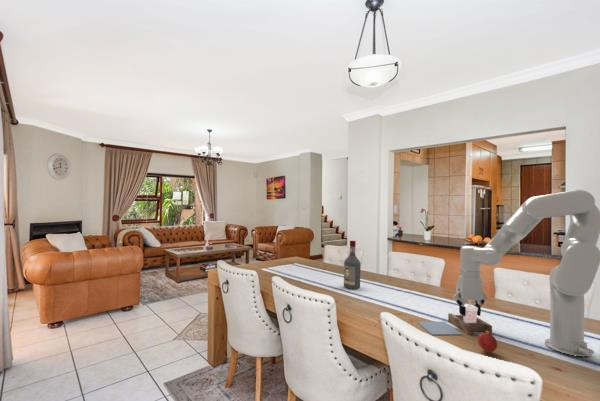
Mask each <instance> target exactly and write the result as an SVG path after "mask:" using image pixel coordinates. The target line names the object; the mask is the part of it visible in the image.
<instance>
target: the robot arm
mask: <svg viewBox="0 0 600 401" xmlns="http://www.w3.org/2000/svg"><path fill="white" fill-rule="evenodd" d="M562 216H569V219H570V220H569V225H568V229H567V231H566V234H565V236H564V239H563V242H562V244H561V247H560V254H561V256H562V258H561V260H560V263H559V264H558V265H556V266H555V267H553V268H552V269H551V270H550V273H549V289H550V292H549V294H550V297H549V298H550V300H549V302H550V303H549V304H550V306H549V308H550V309H549V312H550V313H549V315H550V317H549V318H550V319H549V322H550V323H549V338H545V340H544V344H546V345H547V346H546V345H545V346H546V347H547V348H549V347H550V348H549V349H551V348H552V349H551V350H553V349H554V350H553V351H555V350H557V351H560V352H563V353H566V354H570V355H569V356H571V355H576V356H588V358H589V357H590V358H591V357H592V355H594V354H595V351H594V350H593V349H591V348H589V347H588V342H586V341H585V294H587V293H588V292H589V291H590V289H591V287H592V285H593V283H594V280H595V278H596V275H597V272H598V269H599V267H600V249H599V247H598V246H597V244H598V240H599V239H600V238H599V236H600V210H599V207H597V205H596V200H595V197H594V195H593V194H592V193H590V192H589V191H586V190H583V189H573V190H567V191H563V192H557V193H550V194H545V195H544V194H543V195H536V196H535V195H534V196H531V197H529V198H528V199H527V198H526V200H525V201H523V203H522V204H520V206H519V207H518V208H517V209H516V211H515V212H514V213H513V214H512V215H511V216H510V217H509V218H508V219H507V220H506V222H504V224H503V225H502V226H501V227H500V229H499V230H498V231H497V233H496V234H495V235H494V236H493V237H492V238H491V239H490V241H488V242H487V243H486V244H485V246H484V247H479V246H475V245H462V246H460V251H459V252H460V253H459V255H460V259H459V260H460V262H459V264H460V267H459V268H460V270H459V272H460V275H458V277H457V280H456V288H455V293H454V294H453V296H452V299H453V301H455V303H456V304H457V305H458V307H459V308H458V310H459V315H463V316H465V315H466V308H465V307H464V305H466V302H467V301H468V302H469V301H474V302H475V304H474V305H473V306H476V307H477V308H478V311H477V317H481V314H482V309H481V308H482V307H483V305H484V304H485V302H486V301H487V300H488V296H487V295H486V294H485V293H484V285H483V279H482V277H481V275H482V274H483V271H481V264H482V265H485V266H491V267H492V266H497V265H499V264H500V262H501V261H502V257H503V256H505V254H506V253H507V252H508V251H509V250H510V249H511V248H512V247H513V246H514V245H515V244H517V243H518V242H521V240H523V239H524V238H525V237H527V236H528V234H530V233H531V231H532V230H533V229H534V228H535V227H536V226H537V225H538V224H539V223H540V222H541V221H542V220H543V219H544V218H555V217H562ZM557 351H556V352H557ZM560 352H559V353H560ZM563 353H562V354H563ZM566 354H565V355H566ZM576 356H575V357H576Z"/></svg>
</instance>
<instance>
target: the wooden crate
mask: <svg viewBox="0 0 600 401" xmlns="http://www.w3.org/2000/svg"><path fill="white" fill-rule="evenodd" d="M447 318H448V319H447V321H448V322H449V323H450V324H452V325H454V327H455V328H458V329H459V330H461V331H462V332H463V333H465V334H466V333H467V334H466V335H472V333H471V332H485V331H489V333H490V334H491V335H493V326H492V325H491V324H489V323H488V322H486V321H484V320H482V319H481V318H479V317H477V321H476V323H466V322H464V320H463V315H461V314H453V313H448V317H447Z"/></svg>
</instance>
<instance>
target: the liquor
mask: <svg viewBox="0 0 600 401" xmlns="http://www.w3.org/2000/svg"><path fill="white" fill-rule="evenodd" d="M343 266H344V267H343V287H344V288H345V289H348V290H358V288H359V289H360V288H361V261H360V260H359V259H358V257H357V256H356V240H349V255H348V257H346V258H345V260H344V262H343Z"/></svg>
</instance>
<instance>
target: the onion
mask: <svg viewBox="0 0 600 401" xmlns="http://www.w3.org/2000/svg"><path fill="white" fill-rule="evenodd" d="M477 343H478V345H479V347H480V348H481V349H482V350H483V351H484V352H485V353H486V354H491V353H493V352H495V351H496V350H497V348H498V342H497V340H496V338H495V337H494V336H493V334H490V333H489V331H485V333H481V334H479V336H478V339H477Z"/></svg>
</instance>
